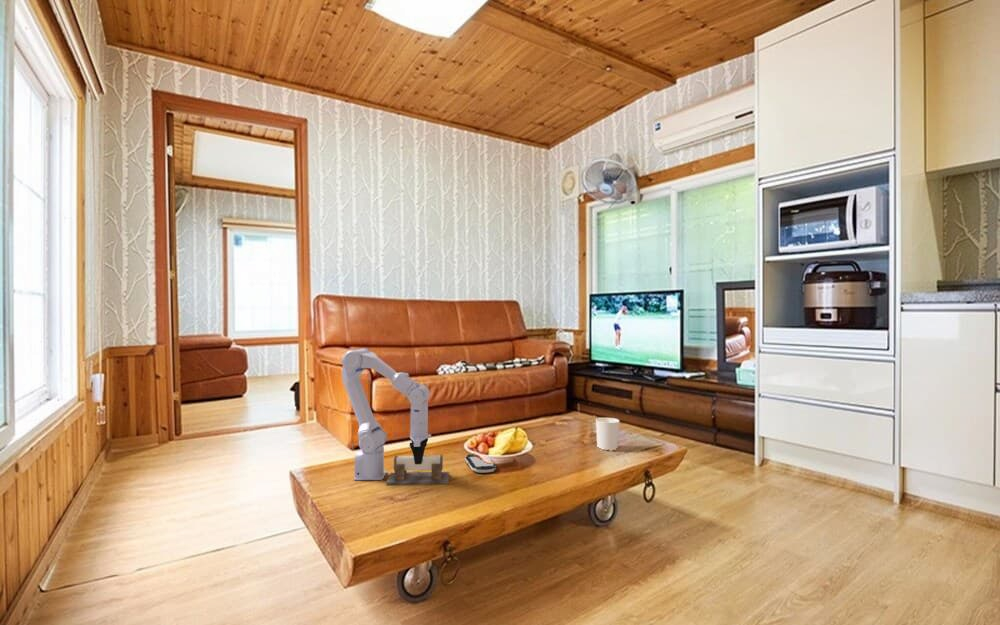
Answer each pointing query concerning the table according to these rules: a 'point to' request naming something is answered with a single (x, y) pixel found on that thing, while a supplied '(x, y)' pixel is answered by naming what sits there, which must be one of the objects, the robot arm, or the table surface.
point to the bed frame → (417, 476)
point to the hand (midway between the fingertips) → (418, 462)
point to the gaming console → (479, 465)
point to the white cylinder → (607, 433)
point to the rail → (425, 464)
